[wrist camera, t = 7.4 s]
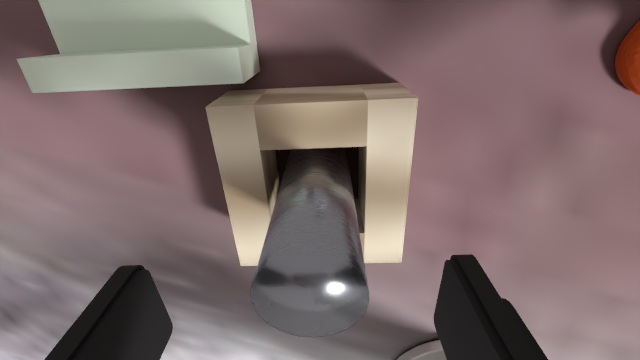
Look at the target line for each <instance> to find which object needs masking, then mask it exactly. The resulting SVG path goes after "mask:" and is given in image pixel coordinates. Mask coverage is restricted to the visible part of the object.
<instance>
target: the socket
mask: <svg viewBox="0 0 640 360" xmlns="http://www.w3.org/2000/svg"><path fill="white" fill-rule="evenodd" d="M417 104H418V97H417V96H415V95H414V94H413V93H412V92H410V91H409V90H408V89H407V88H405V87H404V86H403V85H402V84H400V83H382V84H361V85H339V86H317V87H295V88H273V89H251V90H229V91H228V92H226V93H225V94H223V95H222V96H221V97H219V98H218V99H216V100H215V101H213V102H212V103H210V104H209V105H207V106H206V107H205V109H206V113H207V118H208V122H209V127H210V131H211V136H212V140H213V145H214V149H215V153H216V158H217V162H218V167H219V171H220V176H221V180H222V185H223V189H224V194H225V198H226V203H227V207H228V211H229V216H230V220H231V225H232V229H233V234H234V238H235V243H236V247H237V252H238V256H239V261H240V265H241V266H258V262H259V259H260V255H261V252H262V248H263V244H264V241H265V237H266V234H267V230H268V227H269V223H270V220H271V216H272V213H273V209H274V206H275V202H276V199H277V195H278V192H279V188H280V183H279V175H278V167H277V159H276V151H275V150H285V149H311V148H338V147H359V174H358V198H354V202H355V208H356V214H357V221H358V227H359V233H360V240H361V246H362V252H363V258H364V263H396V262H402V252H403V242H404V232H405V222H406V213H407V203H408V193H409V183H410V173H411V163H412V154H413V144H414V134H415V124H416V114H417Z"/></svg>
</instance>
